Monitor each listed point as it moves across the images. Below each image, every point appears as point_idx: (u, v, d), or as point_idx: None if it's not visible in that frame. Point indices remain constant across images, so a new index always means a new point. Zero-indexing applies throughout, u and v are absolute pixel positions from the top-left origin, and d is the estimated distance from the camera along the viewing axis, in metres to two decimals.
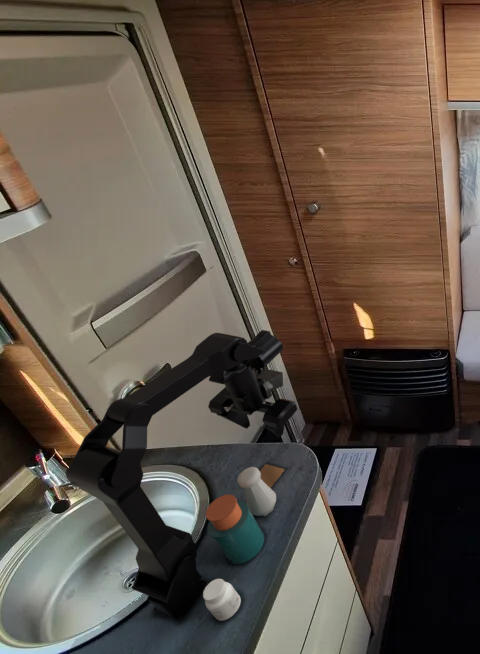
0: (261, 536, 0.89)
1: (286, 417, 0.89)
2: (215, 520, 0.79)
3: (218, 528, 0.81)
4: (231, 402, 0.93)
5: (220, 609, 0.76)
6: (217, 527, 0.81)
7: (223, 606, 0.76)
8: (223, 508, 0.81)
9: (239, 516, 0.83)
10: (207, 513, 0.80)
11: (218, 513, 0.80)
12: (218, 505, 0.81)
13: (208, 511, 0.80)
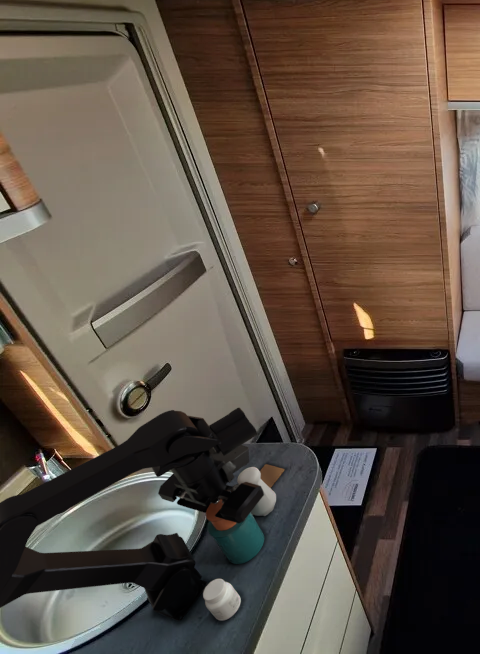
0: (261, 536, 0.89)
1: (249, 508, 0.76)
2: (215, 520, 0.79)
3: (218, 528, 0.81)
4: None
5: (220, 609, 0.76)
6: (217, 527, 0.81)
7: (223, 606, 0.76)
8: None
9: None
10: (207, 513, 0.80)
11: None
12: (218, 505, 0.81)
13: (208, 511, 0.80)
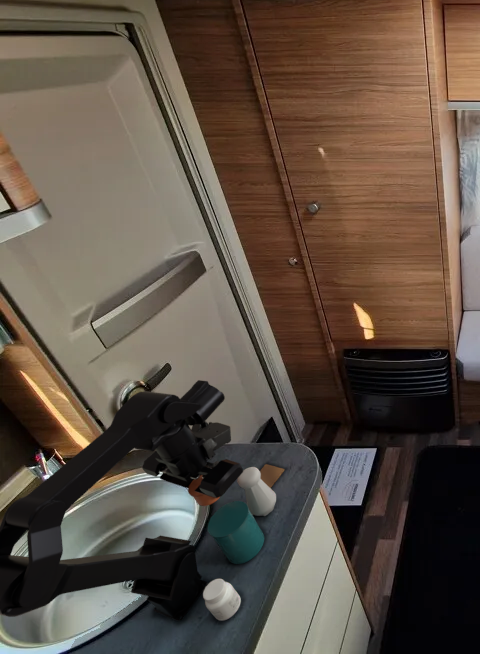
0: (261, 536, 0.89)
1: (227, 483, 0.78)
2: (196, 495, 0.82)
3: (200, 503, 0.84)
4: None
5: (220, 609, 0.76)
6: (199, 502, 0.83)
7: (223, 606, 0.76)
8: None
9: None
10: (189, 488, 0.83)
11: None
12: (200, 481, 0.84)
13: (190, 486, 0.83)
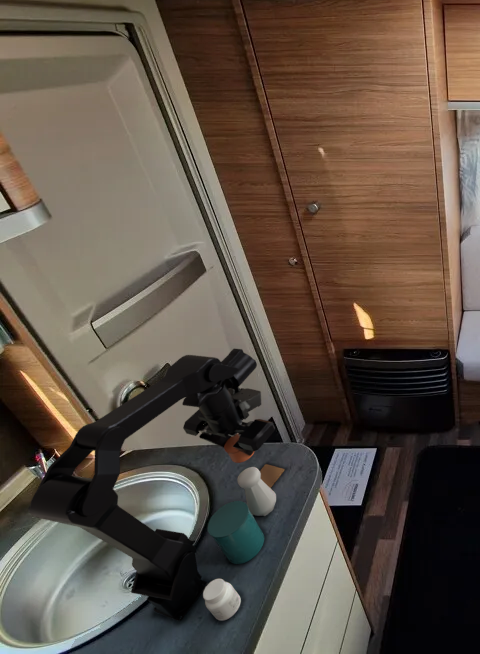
0: (261, 536, 0.89)
1: (262, 439, 0.87)
2: (232, 452, 0.91)
3: (235, 460, 0.92)
4: None
5: (220, 609, 0.76)
6: (234, 459, 0.92)
7: (223, 606, 0.76)
8: None
9: None
10: (225, 447, 0.92)
11: None
12: (234, 441, 0.93)
13: (226, 445, 0.92)
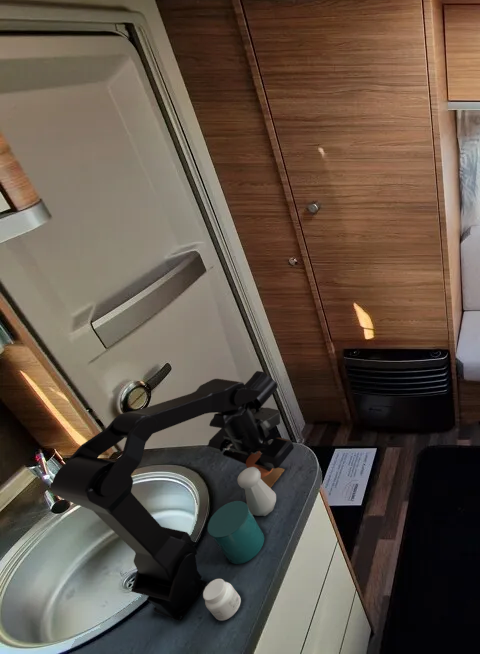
0: (261, 536, 0.89)
1: (283, 457, 0.93)
2: None
3: None
4: None
5: (220, 609, 0.76)
6: None
7: (223, 606, 0.76)
8: None
9: None
10: (247, 463, 0.97)
11: None
12: (255, 457, 0.99)
13: (247, 462, 0.98)
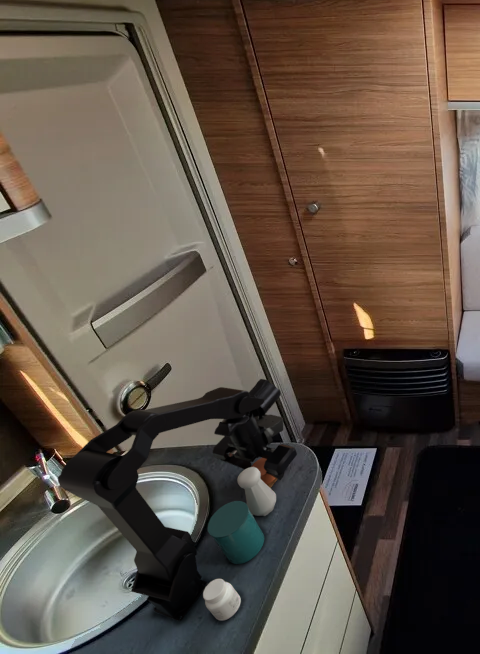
0: (261, 536, 0.89)
1: (286, 463, 0.95)
2: None
3: None
4: (234, 448, 0.98)
5: (220, 609, 0.76)
6: None
7: (223, 606, 0.76)
8: (263, 467, 1.00)
9: None
10: None
11: (260, 471, 0.99)
12: (259, 465, 1.00)
13: None
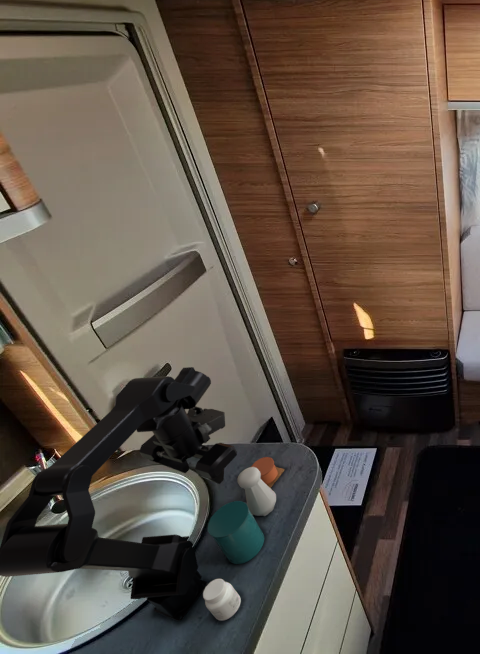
0: (261, 536, 0.89)
1: (222, 465, 0.82)
2: None
3: None
4: None
5: (220, 609, 0.76)
6: None
7: (223, 606, 0.76)
8: (263, 467, 1.00)
9: (276, 474, 1.02)
10: None
11: (260, 471, 0.99)
12: (259, 465, 1.00)
13: None
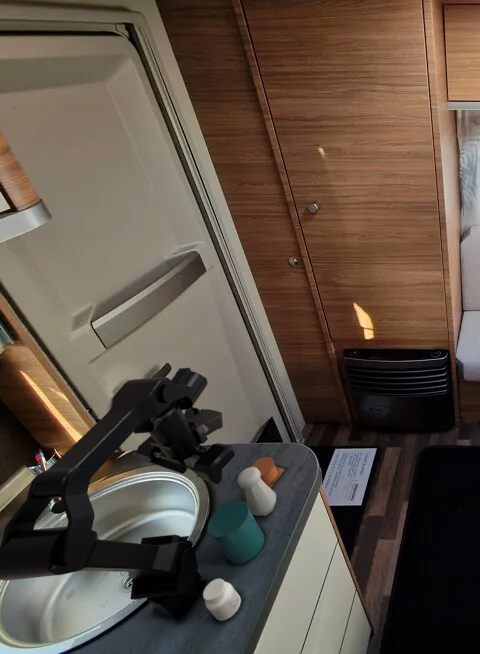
0: (261, 536, 0.89)
1: (220, 465, 0.82)
2: None
3: None
4: None
5: (220, 609, 0.76)
6: None
7: (223, 606, 0.76)
8: (263, 467, 1.00)
9: (276, 474, 1.02)
10: None
11: (260, 471, 0.99)
12: (259, 465, 1.00)
13: None
